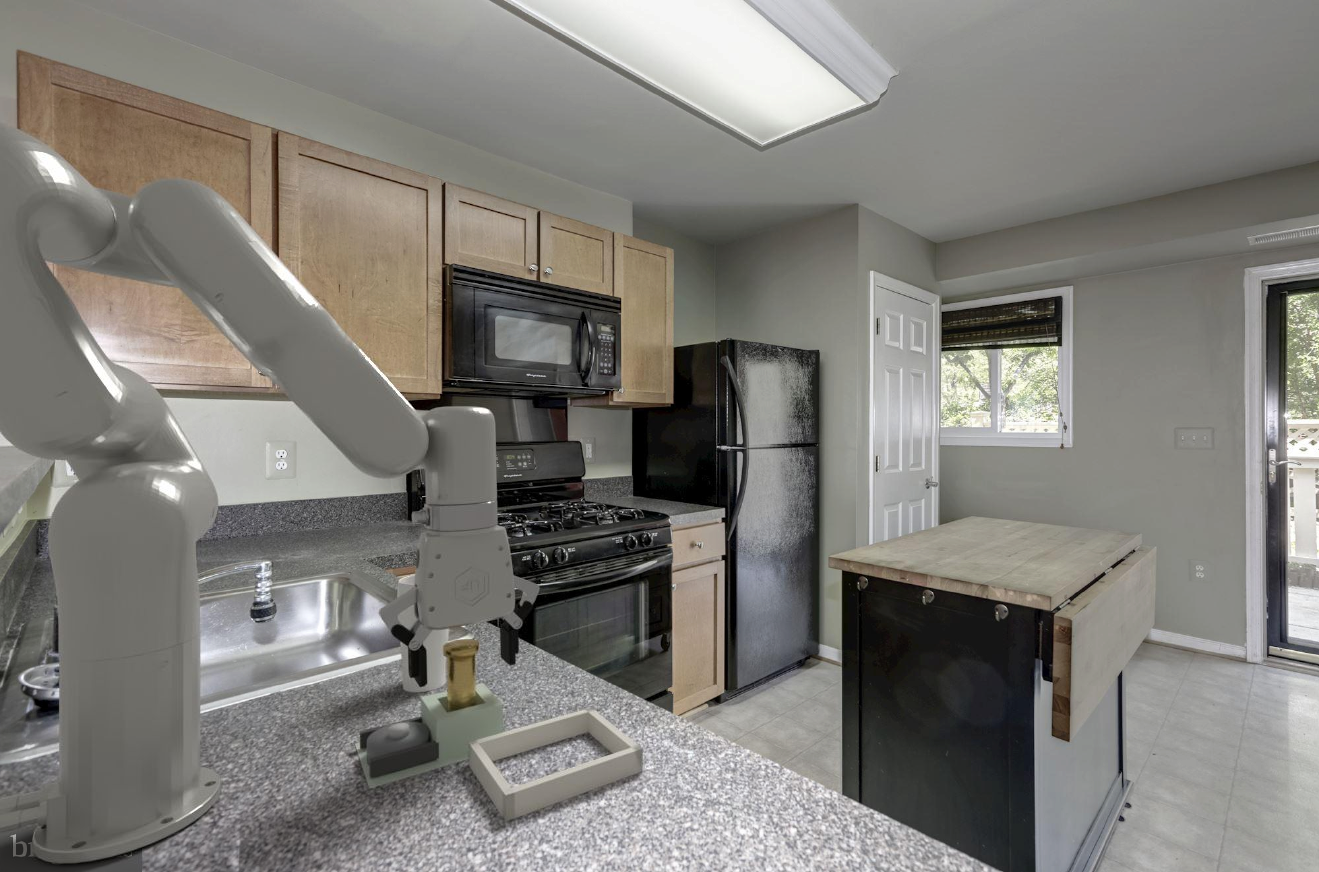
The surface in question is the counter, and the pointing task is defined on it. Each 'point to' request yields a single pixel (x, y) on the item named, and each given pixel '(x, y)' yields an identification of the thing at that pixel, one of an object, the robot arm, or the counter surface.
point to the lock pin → (461, 673)
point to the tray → (561, 783)
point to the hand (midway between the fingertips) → (466, 671)
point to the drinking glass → (432, 645)
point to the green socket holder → (428, 738)
